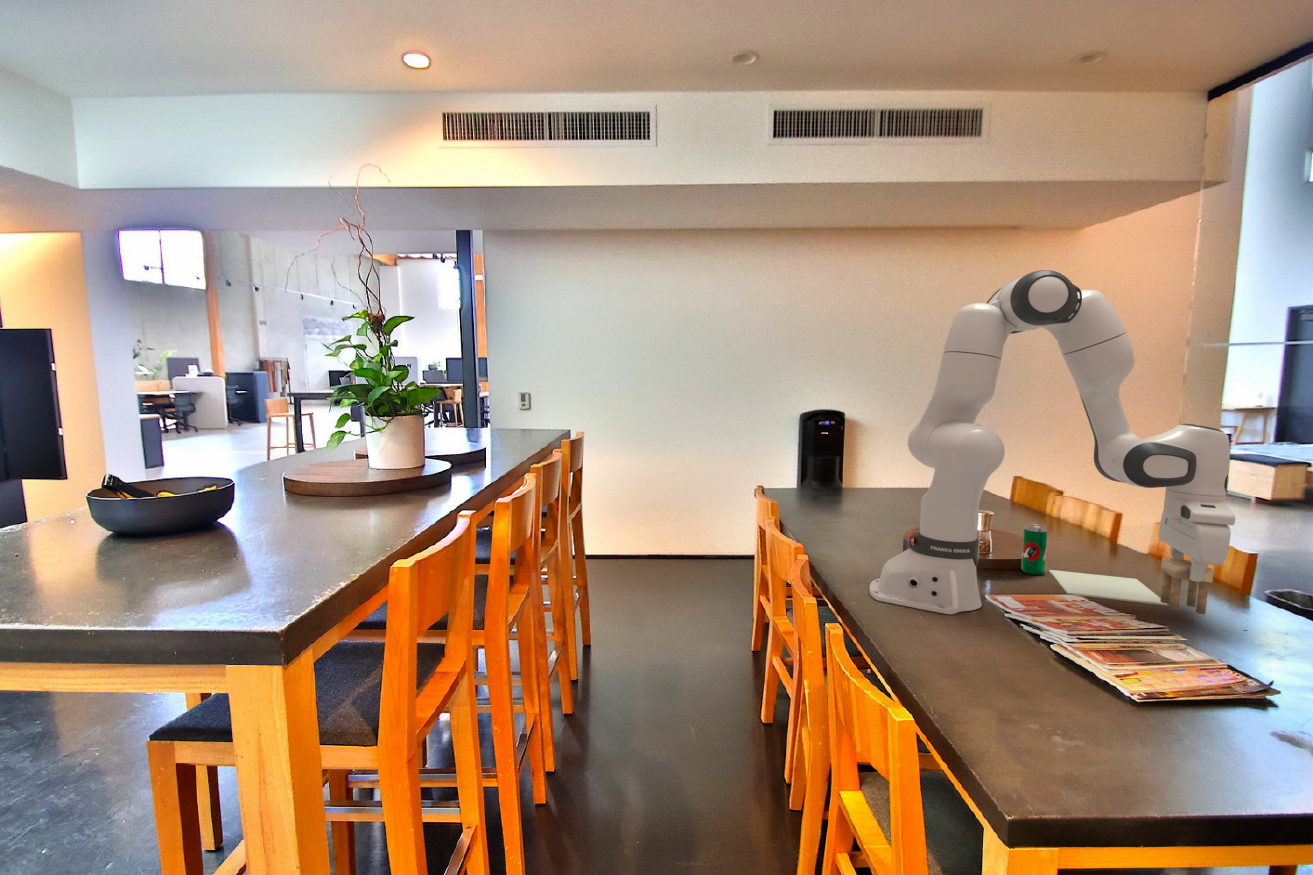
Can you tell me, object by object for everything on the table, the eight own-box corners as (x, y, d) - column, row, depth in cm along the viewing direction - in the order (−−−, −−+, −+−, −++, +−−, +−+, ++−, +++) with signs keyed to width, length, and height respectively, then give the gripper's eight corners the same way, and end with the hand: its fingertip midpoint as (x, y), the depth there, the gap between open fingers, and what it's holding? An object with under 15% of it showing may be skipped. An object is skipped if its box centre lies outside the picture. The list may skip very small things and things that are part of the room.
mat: (1067, 594, 133) (1067, 592, 133) (1048, 571, 150) (1048, 569, 150) (1167, 605, 127) (1167, 604, 127) (1136, 580, 143) (1136, 578, 143)
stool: (1169, 609, 117) (1174, 565, 116) (1157, 600, 123) (1162, 557, 122) (1208, 615, 115) (1213, 569, 114) (1194, 604, 121) (1199, 561, 120)
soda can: (1048, 576, 146) (1051, 528, 145) (1025, 575, 147) (1028, 527, 146) (1039, 570, 151) (1042, 523, 150) (1017, 568, 152) (1020, 522, 151)
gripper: (1153, 496, 128) (1146, 559, 129) (1196, 514, 109) (1188, 587, 110) (1189, 499, 126) (1182, 563, 127) (1241, 518, 107) (1232, 593, 108)
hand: (1185, 574), depth 118 cm, fingers closed on stool, 6 cm apart
